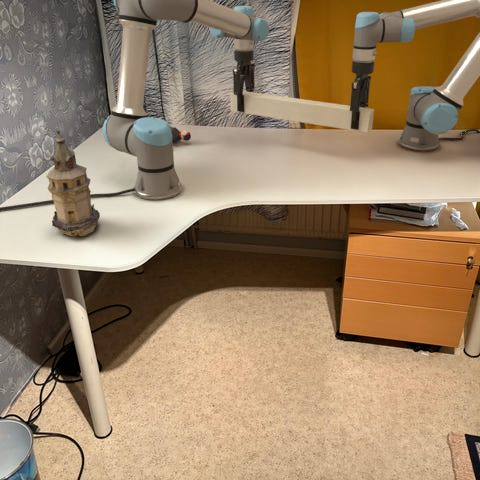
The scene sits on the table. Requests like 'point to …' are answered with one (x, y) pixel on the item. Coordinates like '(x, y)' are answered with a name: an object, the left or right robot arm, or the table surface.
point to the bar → (303, 111)
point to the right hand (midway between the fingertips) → (357, 126)
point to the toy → (179, 135)
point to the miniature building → (70, 193)
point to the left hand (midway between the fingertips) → (244, 109)
